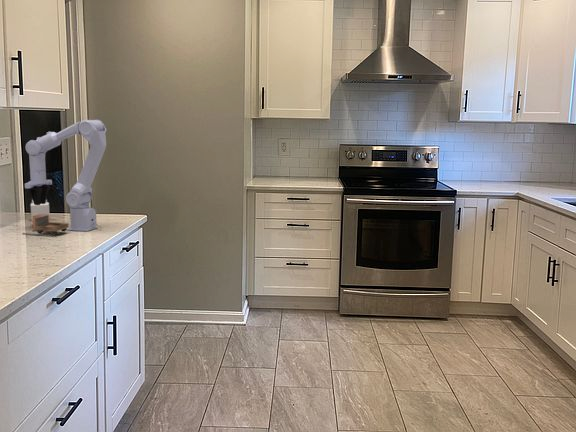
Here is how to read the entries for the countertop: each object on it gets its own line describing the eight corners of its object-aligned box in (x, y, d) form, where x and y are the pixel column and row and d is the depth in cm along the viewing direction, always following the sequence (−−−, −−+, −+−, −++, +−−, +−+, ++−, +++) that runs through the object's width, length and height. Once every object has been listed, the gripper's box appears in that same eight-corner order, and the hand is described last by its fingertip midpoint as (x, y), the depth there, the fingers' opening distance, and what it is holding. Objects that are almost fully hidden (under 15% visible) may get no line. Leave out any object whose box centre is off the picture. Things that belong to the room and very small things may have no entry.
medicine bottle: (32, 218, 251) (30, 191, 249) (49, 218, 254) (48, 191, 252) (31, 221, 245) (29, 193, 243) (49, 220, 247) (47, 193, 245)
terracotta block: (49, 226, 234) (48, 214, 233) (42, 228, 230) (42, 216, 229) (40, 226, 235) (39, 214, 234) (33, 228, 231) (32, 215, 230)
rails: (63, 232, 222) (63, 231, 222) (52, 236, 215) (52, 235, 215) (33, 230, 225) (33, 229, 225) (22, 234, 218) (21, 233, 218)
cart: (68, 231, 222) (67, 216, 221) (56, 235, 214) (55, 219, 213) (48, 229, 224) (47, 215, 223) (34, 233, 216) (34, 218, 215)
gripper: (40, 168, 236) (42, 201, 239) (16, 171, 222) (19, 206, 225) (55, 169, 235) (57, 202, 237) (33, 172, 221) (35, 207, 223)
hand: (39, 204), depth 231 cm, fingers open, 3 cm apart
